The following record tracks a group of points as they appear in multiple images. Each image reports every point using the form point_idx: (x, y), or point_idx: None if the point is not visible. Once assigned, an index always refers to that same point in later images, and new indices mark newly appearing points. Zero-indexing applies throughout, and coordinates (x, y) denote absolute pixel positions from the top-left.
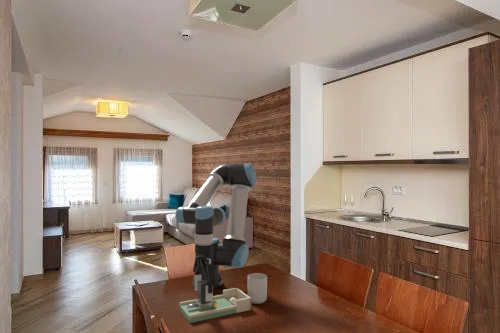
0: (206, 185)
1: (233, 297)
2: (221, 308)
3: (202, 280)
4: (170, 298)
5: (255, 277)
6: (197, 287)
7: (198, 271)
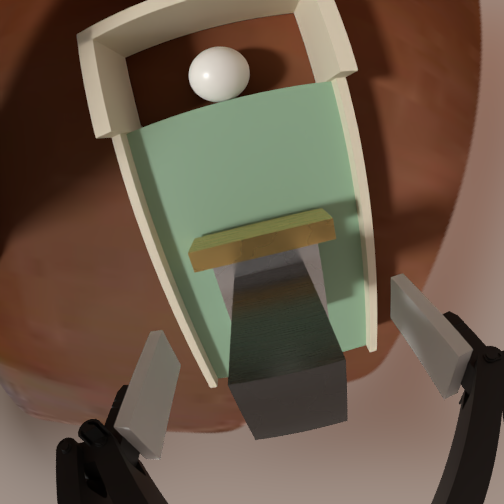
0: None
1: (209, 64)
2: (363, 186)
3: (244, 415)
4: (96, 375)
5: None
6: (169, 368)
7: (145, 480)
